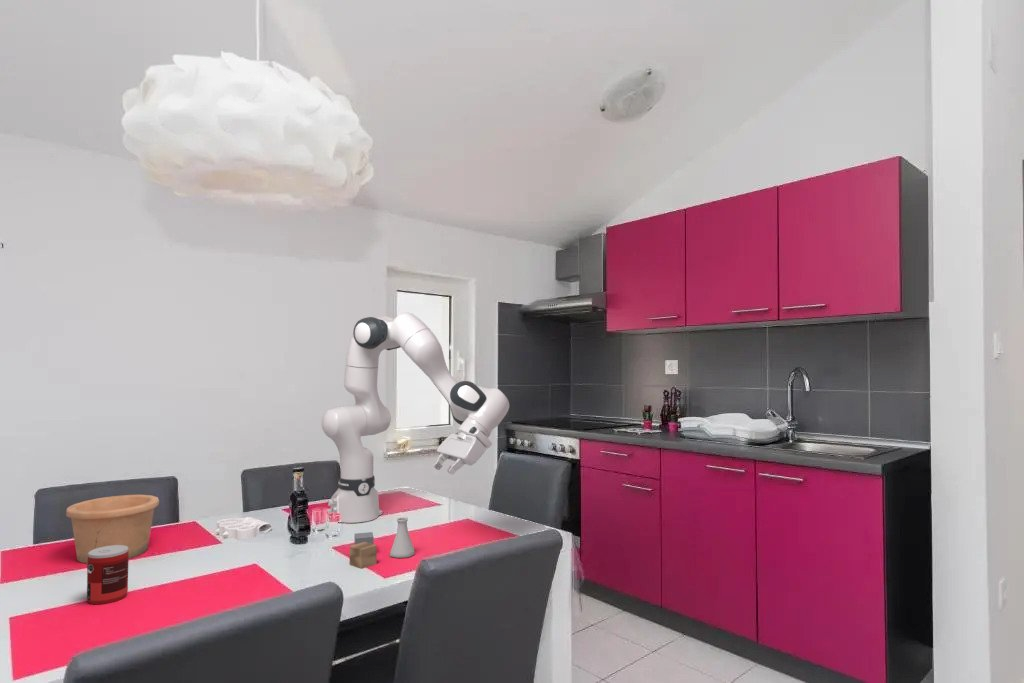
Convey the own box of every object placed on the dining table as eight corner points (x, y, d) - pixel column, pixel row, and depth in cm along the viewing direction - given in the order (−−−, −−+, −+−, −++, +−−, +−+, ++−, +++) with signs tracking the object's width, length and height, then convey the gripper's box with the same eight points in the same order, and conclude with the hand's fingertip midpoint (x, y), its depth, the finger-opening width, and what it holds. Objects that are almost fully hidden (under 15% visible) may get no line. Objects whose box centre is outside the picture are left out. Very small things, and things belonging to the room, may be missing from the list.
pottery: (175, 548, 174) (175, 498, 174) (95, 572, 154) (96, 516, 154) (128, 538, 183) (128, 491, 183) (47, 560, 163) (48, 508, 163)
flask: (409, 559, 163) (409, 522, 163) (384, 557, 164) (385, 521, 165) (419, 551, 170) (419, 516, 170) (395, 549, 171) (395, 514, 172)
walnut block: (349, 565, 159) (349, 546, 159) (364, 560, 163) (364, 541, 163) (361, 569, 156) (361, 549, 156) (376, 564, 159) (376, 545, 160)
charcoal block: (354, 551, 170) (354, 533, 170) (372, 549, 172) (372, 532, 172) (355, 556, 166) (355, 538, 166) (373, 554, 167) (373, 537, 167)
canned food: (99, 592, 140) (100, 545, 141) (134, 591, 141) (135, 544, 141) (78, 605, 133) (79, 555, 133) (116, 604, 133) (117, 554, 134)
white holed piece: (277, 533, 189) (231, 544, 178) (249, 523, 201) (204, 533, 189) (277, 522, 189) (231, 533, 178) (249, 513, 201) (204, 522, 189)
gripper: (450, 425, 188) (421, 459, 182) (481, 430, 170) (450, 468, 165) (462, 438, 190) (435, 472, 184) (495, 444, 172) (465, 482, 167)
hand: (442, 470), depth 174 cm, fingers open, 8 cm apart
